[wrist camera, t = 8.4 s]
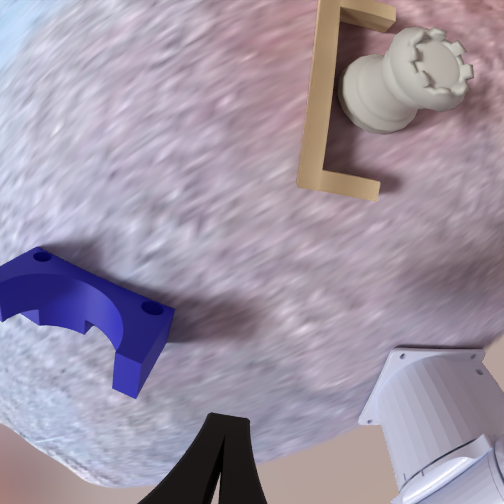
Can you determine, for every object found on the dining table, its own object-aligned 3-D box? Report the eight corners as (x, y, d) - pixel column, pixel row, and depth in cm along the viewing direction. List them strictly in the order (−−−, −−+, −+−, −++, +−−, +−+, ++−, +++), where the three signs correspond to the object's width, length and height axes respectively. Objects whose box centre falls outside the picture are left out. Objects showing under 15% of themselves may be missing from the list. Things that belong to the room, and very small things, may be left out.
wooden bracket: (384, 19, 12) (395, 7, 11) (365, 195, 16) (376, 201, 14) (317, 4, 13) (321, -12, 11) (295, 183, 16) (298, 187, 14)
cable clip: (37, 294, 21) (-8, 328, 15) (38, 245, 19) (-16, 274, 13) (163, 356, 21) (133, 413, 15) (175, 308, 20) (141, 364, 14)
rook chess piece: (319, 79, 14) (352, 23, 7) (382, 49, 13) (447, -8, 6) (362, 148, 15) (429, 149, 8) (422, 115, 14) (510, 102, 7)
